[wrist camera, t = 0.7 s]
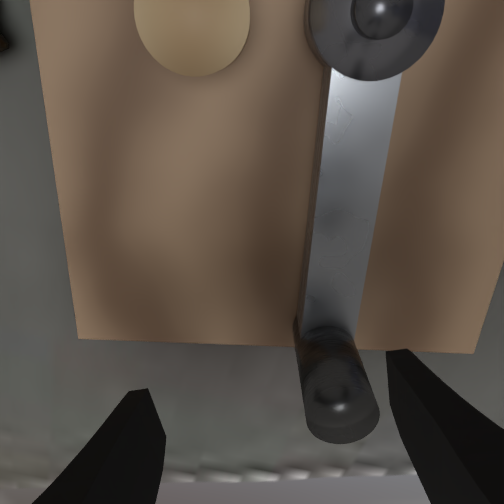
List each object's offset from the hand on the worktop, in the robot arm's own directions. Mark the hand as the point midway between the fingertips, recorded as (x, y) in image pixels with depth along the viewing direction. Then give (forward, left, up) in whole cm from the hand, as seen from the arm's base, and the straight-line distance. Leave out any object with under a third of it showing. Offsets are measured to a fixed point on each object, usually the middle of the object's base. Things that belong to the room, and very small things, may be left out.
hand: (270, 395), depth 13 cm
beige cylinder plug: (+3, -10, -9) cm, 14 cm away
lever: (-3, -4, -8) cm, 10 cm away
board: (-1, -5, -10) cm, 11 cm away
